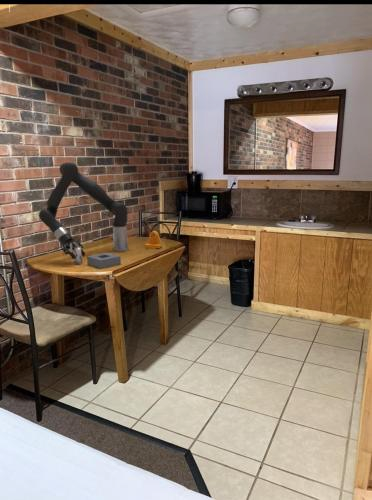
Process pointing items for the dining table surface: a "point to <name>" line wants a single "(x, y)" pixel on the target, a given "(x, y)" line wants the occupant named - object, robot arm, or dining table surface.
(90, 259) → the socket block
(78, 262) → the steel pin
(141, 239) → the dining table surface
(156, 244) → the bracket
